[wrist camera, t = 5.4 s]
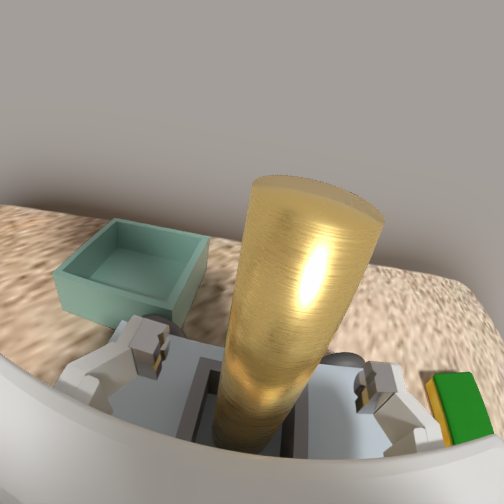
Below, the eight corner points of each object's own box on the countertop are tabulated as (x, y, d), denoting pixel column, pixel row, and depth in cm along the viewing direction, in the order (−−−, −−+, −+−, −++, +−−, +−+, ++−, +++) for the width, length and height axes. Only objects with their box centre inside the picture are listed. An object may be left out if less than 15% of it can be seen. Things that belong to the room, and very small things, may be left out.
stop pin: (206, 452, 13) (242, 207, 6) (217, 405, 16) (258, 168, 9) (266, 462, 13) (403, 244, 6) (270, 414, 16) (365, 193, 9)
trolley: (65, 491, 10) (13, 463, 6) (133, 344, 24) (123, 283, 20) (366, 542, 10) (430, 529, 6) (355, 386, 24) (392, 336, 20)
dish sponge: (447, 490, 13) (464, 482, 11) (422, 385, 25) (434, 372, 23) (487, 472, 13) (503, 463, 11) (460, 383, 25) (471, 371, 23)
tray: (63, 309, 25) (52, 273, 23) (116, 249, 37) (114, 217, 34) (173, 347, 25) (172, 310, 22) (206, 270, 37) (209, 236, 34)
